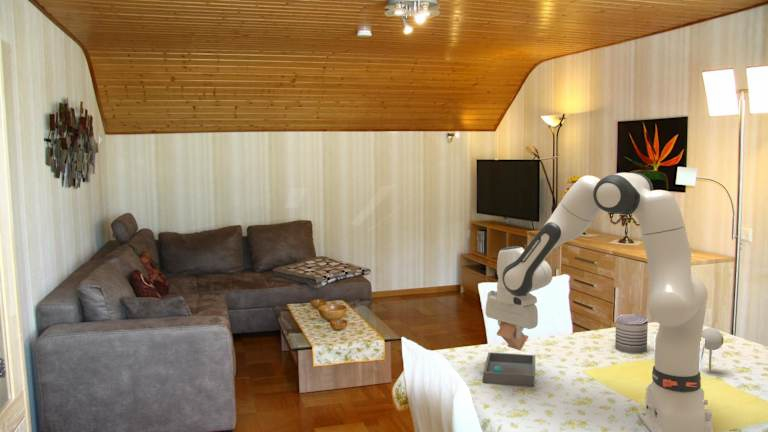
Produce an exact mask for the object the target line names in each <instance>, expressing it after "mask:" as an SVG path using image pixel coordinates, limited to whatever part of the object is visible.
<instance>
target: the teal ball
mask: <svg viewBox="0 0 768 432" xmlns="http://www.w3.org/2000/svg"><path fill="white" fill-rule="evenodd" d="M493 372H497V373H502V368H501V367H500V366H496V367H494V369H493Z"/></svg>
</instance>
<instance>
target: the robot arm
mask: <svg viewBox="0 0 768 432" xmlns="http://www.w3.org/2000/svg"><path fill="white" fill-rule="evenodd" d="M601 211H604V212H606V213H610V214H615V215H625V216H630V215H634V216H635V217H636V218H637V221H638V225H639V229H640V233H641V238H642V242H643V246H644V251H645V256H646V261H647V271H648V272H647V273H648V275H647V276H648V277H647V278H648V290H649V291H648V292H649V293H648V294H649V297H648V305H647V307H648V312H649V314H650V316H651V318H652V319H653V320H654V321H655V322H656V323H657V324H658V325H659V327H658V330H657V334H656V337H655V344H654V347H655V348H654V365H653V367H652V371H651V375H652V377H651V380H652V381H651V383H650V384H649V385H647V386H646V387H645V398H644V399H645V400H644V409H642V410H639V411H638V412H637V416H638V417H639V419H640V420H641V422H643V424H644V425H645V426H646V428H647V429H648V430H649V432H714V428H713V427H714V425H713V418H712V411H713V410H712V409H708V408H707V409H706V408H705V406H708V404H709V400H708V399H705V390H704V389H702V385H701V383H702V377H701V371H700V353H701V349H700V348H701V344H700V341H701V336H702V331H703V330H704V324H705V316H706V312H707V311H706V308H707V303H708V295H709V293H708V289H707V287H706V285H705V284H704V283H703V282H702V281H701V280H700V279H698V278H697V277H694V276H692V251H691V246H690V243H689V239H688V235H687V234H688V233H687V229H686V226H685V225H686V224H685V221H684V218H683V215H682V211H681V209H680V207H679V204H678V201H677V200H676V198H675V196H674V195H673V193H672V192H670V191H667V190H663V189H655V190H654V187H653V183H652V182H651V180H650V178H648V177H647V176H646V175H644V174H642V173H639V172H617V173H614V174H609V175H607V176H604V177H602V178H599V177H598V176H594V175H591V174H590V175H588V174H587V175H583V176H581V177H579V179H578V180H576V181H575V182H574V184H573V185H572V186H570V188H569V189H568V190H567V192H566V193H565V194H564V195H563V197H562V199H561V201H559V203H558V205H557V207H556V208H555V209H554V211H553V212H552V214H551V215H550V216H549V218H548V219H547V221H546V222H545V224H543V226H542V227H541V229H540V230H539V231H538V232H537V233H536V234H535V236H534V237H533V238H532V240H531V241H530V242H529V243H528V245H527V247H526V248H525V249H524V247H522V246H519V245H513V246H507V247H502V248H501V249H500V250H499V252H498V254H497V255H498V256H497V261H496V262H497V263H496V274H497V278H498V279H497V284H496V291H494V290H489V292H488V293H487V295H486V296H487V298H486V304H485V316H486V317H487V318H491V319H493V320H496V321H497V325H498V327H499V328H500V327H501V325H502V324H503V322H506V323H510V324H513V325H516V328H517V331H516V332H515V333H514V338H517V339H519V338H521V332H522V333H523V330H524V329H527V330H532V329H535V328H536V327H537V326H538V324H539V314H538V307H537V305H536V304H537V303H538V298H537V296H535V295H533V293H531V292H534V291H537V290H539V289H543V288H544V287H545V288H546V286H548V285H549V284H550V283H552V280H553V268H552V267H551V265H550V264H549V262H548V261H547V260H546V258H547V257H548V256H549V255H550V254H551V253H552V251H554V250H555V249H557V248H558V247H559V246H561V245H563V244H565V243H568V242H570V241H573V240H575V239H576V238H579V237H580V236H582V235H583V234H584V232H586V231H587V230H588V229H589V228H590V226H591V225H592V223H594V221H595V219H596V218H597V216H598V215H599V213H600V212H601Z"/></svg>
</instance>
